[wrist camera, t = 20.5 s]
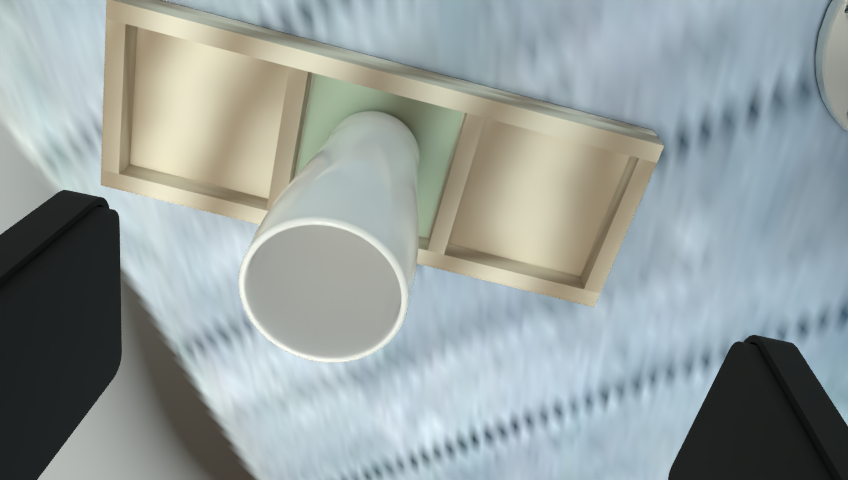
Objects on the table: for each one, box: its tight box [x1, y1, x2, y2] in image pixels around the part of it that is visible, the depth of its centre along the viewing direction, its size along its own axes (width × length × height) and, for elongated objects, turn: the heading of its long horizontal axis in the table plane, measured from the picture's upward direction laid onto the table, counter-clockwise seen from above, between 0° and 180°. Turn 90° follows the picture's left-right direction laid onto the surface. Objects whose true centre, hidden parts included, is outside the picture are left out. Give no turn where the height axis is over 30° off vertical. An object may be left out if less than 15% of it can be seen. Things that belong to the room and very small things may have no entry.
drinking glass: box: [239, 111, 420, 363], centre depth 33 cm, size 7×7×15 cm
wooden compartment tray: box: [101, 0, 664, 307], centre depth 40 cm, size 30×11×2 cm, turn 76°
